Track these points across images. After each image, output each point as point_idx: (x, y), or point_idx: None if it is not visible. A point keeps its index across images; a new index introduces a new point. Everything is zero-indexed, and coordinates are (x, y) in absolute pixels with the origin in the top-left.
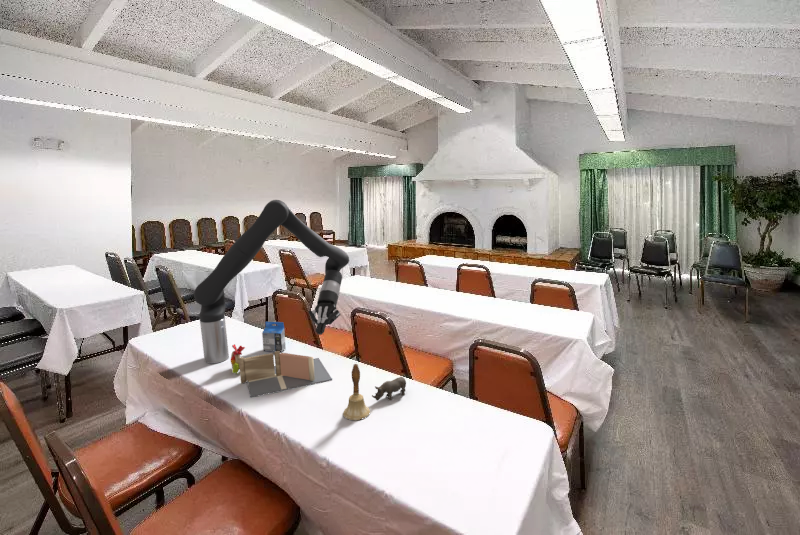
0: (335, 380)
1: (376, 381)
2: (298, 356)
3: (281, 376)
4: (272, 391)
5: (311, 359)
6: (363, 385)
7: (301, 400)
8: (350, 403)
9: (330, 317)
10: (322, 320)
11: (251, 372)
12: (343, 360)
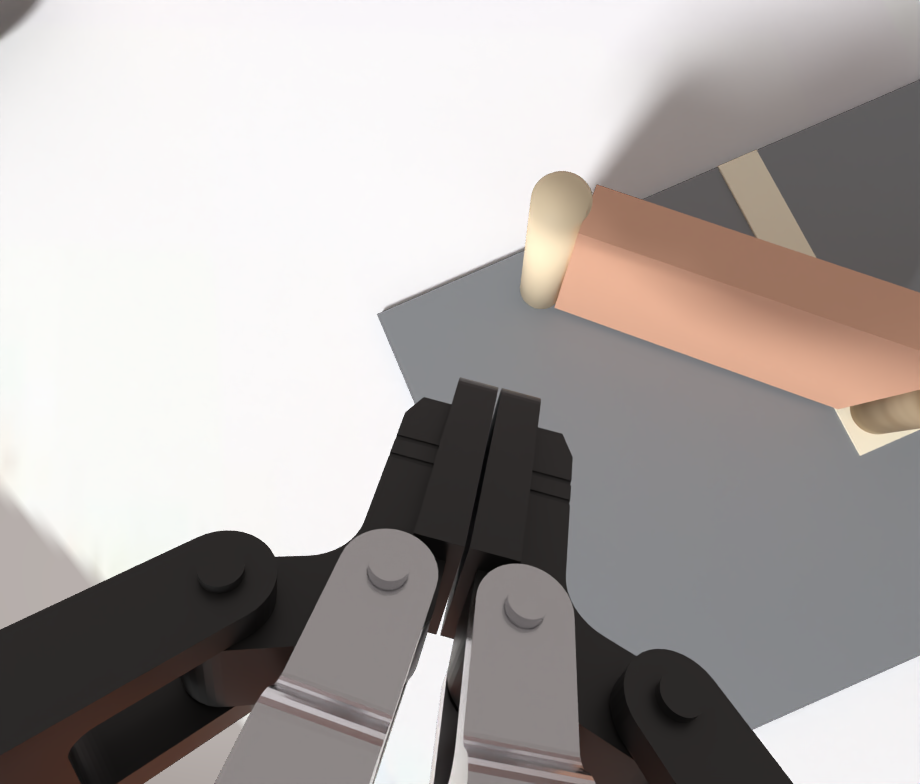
0: (350, 309)
1: (27, 279)
2: (727, 242)
3: None
4: (819, 125)
5: (546, 180)
6: (127, 220)
7: (557, 22)
8: None
9: (77, 646)
10: (399, 614)
11: None
12: None
